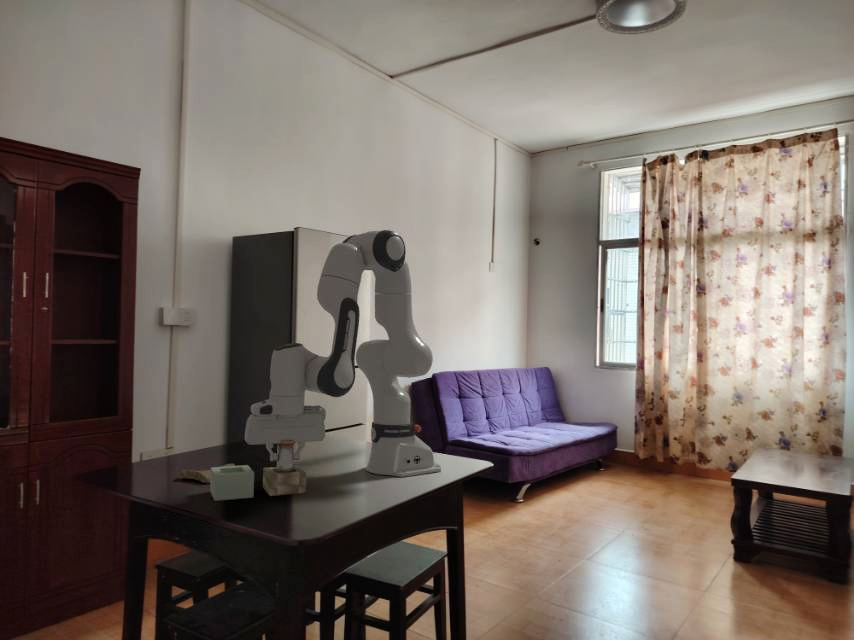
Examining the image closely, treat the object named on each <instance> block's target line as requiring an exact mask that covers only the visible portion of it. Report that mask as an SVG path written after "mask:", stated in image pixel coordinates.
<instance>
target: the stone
mask: <svg viewBox="0 0 854 640" xmlns="http://www.w3.org/2000/svg"><path fill="white" fill-rule="evenodd" d="M227 466H236V465H235V463H227V464H224V465H222V466H220V467H227ZM178 476H179V477H178V478H179V480H186V479H191V480H196V481H200V482H201V483H203V484H210V481H211V469H207V470H191V469H184V470H181V471H180V473H179V475H178Z"/></svg>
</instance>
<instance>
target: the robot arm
mask: <svg viewBox="0 0 854 640" xmlns="http://www.w3.org/2000/svg"><path fill="white" fill-rule="evenodd" d="M406 252H407V251H406V244H405V241H404V238H403V237H402V236H401V234H399V233H398V232H396V231H394V230H389V229H383V230H372V231H371V230H369V231H367V232H363V233H360V234H359V233H358V234H352V235H350V236H348V237H346V238H345V239H344V240H342V242H340V243H336V244H335V245H333V246H332V247H331V248H330V251H329V253H328V255H327V256H326V259H325V262H324V263H323V267H322V270H321V273H320V278H319V280H318V284H317V290H316V291H317V293H316V298H317V299H316V300H317V301H318V304H319V305H320V307H321V308H322V309H323V310H324V311H325V312H326V313H328V314H330V316H331V317H332V318H333V322H334V332H333V338H332V346H331V351H330V354H329V355H328V356H322V355H320V356H319V354H316V353H313V352H312V351H311V350H309V349H308V348H306V346H304V344H303V343H301V342H300V343H299V342H292V343H283V344H280V345H277V346H276V347H275V348H274V349H273V352H272V355H271V360H270V361H271V362H270V370H269V371H270V372H269V373H270V374H269V375H270V376H269V379H270V382H271V387H270V391H269V397H268V399H265V400H263V401H259V402H256V403H253V404H251V406H250V412H251V414H250V415H249V416H248V417H247V419H246V423H245V430H244V440H245V442H246V444H248V445H249V446H250V445H251V446H253V445H255V446H256V445H265V447H266V449H267V451H268V453H269V460H270V462H277V452H274V451H273V450H272V449H273V448H274V445H275V444H276V443H280V441H283V440H294V442H296V443H297V449H296V451H293V461H297V460H298V461H300V460H301V453H302V452H303V450H304V448H305V447H306V443H311V442H322V441H324V440H325V438H326V426H325V425H326V424H325V421H326V418H327V416H326V414H327V413H326V409H325V408H324V407H322V406H321V405H305V394H306V393H305V392H306V391H308V392H313V393H318V394H324V395H326V396H329V397H332V398H340V397H343V396H346V395H347V394H348V393H349V392H350V391H351V389H352V388H353V386H354V384H355V381H356V367H355V366H356V365H357V367H358V369H359V370H360V371H361V372H362V373H363V374H364V376H365V377H366V378H367V381H368V384H369V386H370V389H371V393H372V403H373V404H372V405H373V406H372V407H373V408H372V409H373V412H372V413H373V415H372V417H373V418H372V419H373V421H372V422H371V428H370V438H371V439H370V440H371V446H370V454H369V458H368V462H367V466H366V468H365V469H366V471H367V472H368V473H373V474H376V475H385V476H395V477H410V476H418V475H424V474H430V473H431V474H432V473H437V472H442V466H441V465H440V464H438V463H436V462H435V459H434V458H435V457H434V452H433V450H432V448H431V447H430V446H429V445H428V444H426V443H425V442H424V441H423V440H422V439H420V438H419V437H418V436H417V435H416V433H420V432H421V431H422V427H421V426H420V425H419V424H413V423H412V422H411V402H412V401H411V397H410V394H409V393H407V392H406V390H404V389H403V388H402V387H401V385H400V383H399V380H398V377H399V378H409V379H410V378H411V379H412V378H417V377H418V378H419V377H423V376H425V375H427V374H428V372H429V371H430V370H431V368H432V365H433V362H434V361H433V359H434V358H433V352H432V350H431V349H430V346H429V345H428V344H427V343H425V342H424V340H423V339H422V338H421V337H420V335H419V333H418V331H417V329H416V326H415V324H414V323H415V322H414V319H413V305H412V303H413V301H412V281H411V280H412V279H411V272H410V268H409V264H408V262H407V261H406V254H407V253H406ZM365 271H372V272H373V275H374V319H375V320H376V322H377V324H379V325H380V326H381V327H383V328H384V330H385V331H386V333H387V337H388V339H380V338H379V339H378V338H377V339H372V340H367V341H363V342H362V343H361V344H360V345H359V346H358V348H357V342H358V341H357V340H358V333H359V325H360V324H359V323H360V312H361V311H360V306H359V303H358V295H359V291H360V287H361V286H360V285H361V281H362V275H363V273H364V272H365ZM355 361H356V363H355ZM355 364H356V365H355ZM276 445H277V444H276Z"/></svg>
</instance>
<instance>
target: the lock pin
mask: <svg viewBox="0 0 854 640" xmlns="http://www.w3.org/2000/svg"><path fill="white" fill-rule="evenodd" d="M296 444H297V442H294V440H283V441H280V443H276V445H277V449H276V454H277V461H276V467H277V473H288V472H293V466H294V459H293V456H294V455H293V452H294V445H296Z"/></svg>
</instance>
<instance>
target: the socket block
mask: <svg viewBox="0 0 854 640" xmlns="http://www.w3.org/2000/svg"><path fill="white" fill-rule="evenodd" d="M210 470H211V481H210V483H209V484H210V485H209V486H210V487H209V489H210V490H209V491H210V492H209V493H210V495H211V496H212V498H213V501H215V502H216V501H218V502H219V501H225V500H226V501H228V500H238V499H248V498H251V499H252V498H254V494H255V493H254V492H255V491H254V488H255V486H254V485H255V484H254V483H255V472H254V471H253V470H252V468H251V467H250V466H249V465H248V464H246V465H245V464H244V465H242V464H241V465H235V466H227V467H221V466H215V467H210Z"/></svg>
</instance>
